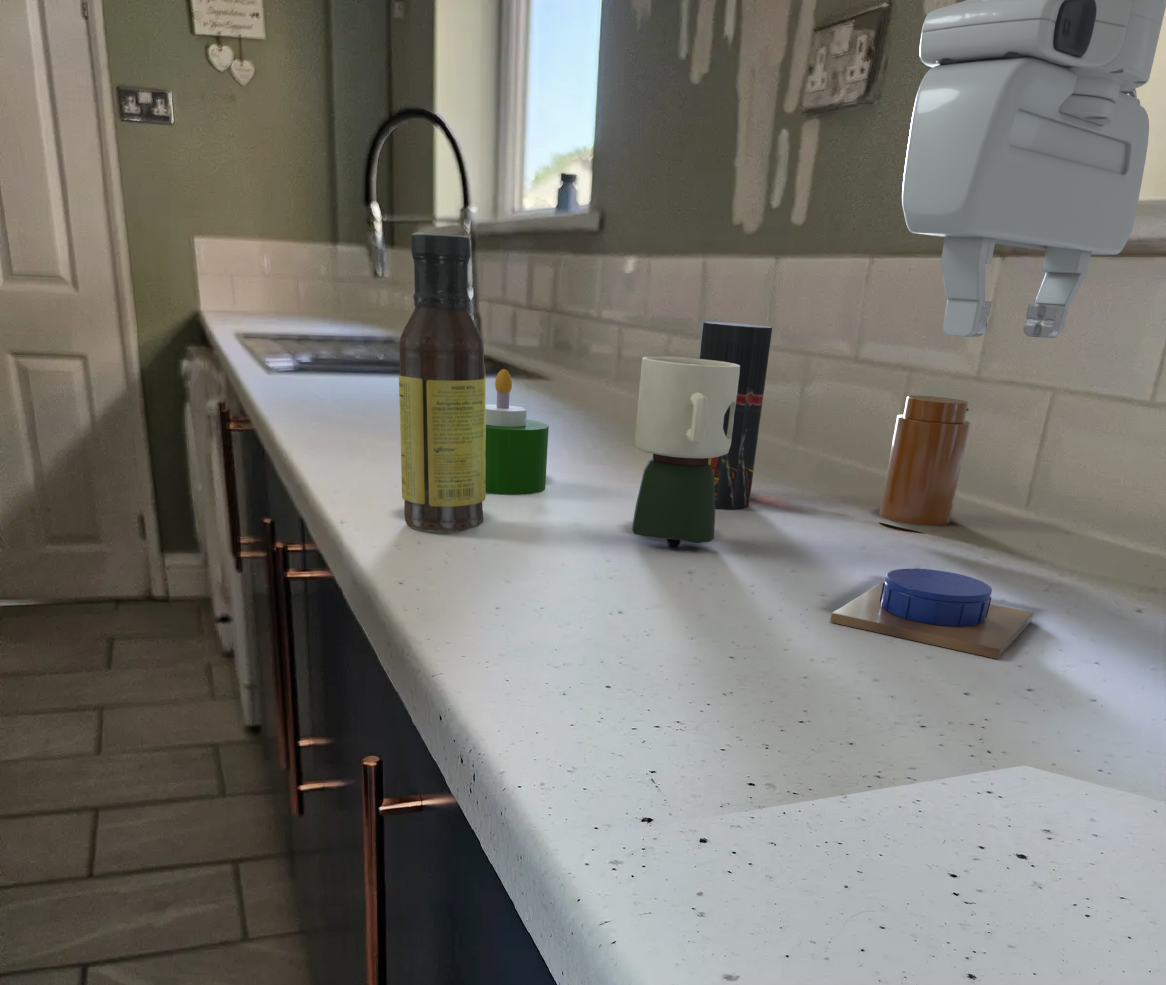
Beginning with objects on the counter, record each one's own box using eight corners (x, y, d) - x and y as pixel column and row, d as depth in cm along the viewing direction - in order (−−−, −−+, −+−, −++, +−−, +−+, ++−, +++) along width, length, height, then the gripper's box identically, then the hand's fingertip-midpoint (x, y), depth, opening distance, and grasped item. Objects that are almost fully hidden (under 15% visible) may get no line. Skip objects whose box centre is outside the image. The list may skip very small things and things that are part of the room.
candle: (553, 496, 97) (560, 376, 93) (460, 493, 95) (463, 371, 91) (535, 478, 104) (541, 366, 100) (448, 475, 102) (450, 362, 98)
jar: (960, 529, 96) (987, 403, 91) (925, 536, 92) (952, 404, 88) (900, 516, 100) (924, 393, 95) (864, 522, 96) (887, 395, 91)
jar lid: (870, 593, 71) (876, 565, 70) (968, 601, 71) (974, 572, 70) (893, 622, 65) (899, 591, 64) (998, 630, 65) (1006, 599, 64)
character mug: (733, 561, 79) (758, 371, 74) (636, 557, 78) (654, 364, 73) (702, 528, 89) (722, 357, 83) (616, 523, 88) (630, 351, 82)
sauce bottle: (497, 524, 85) (507, 239, 76) (462, 539, 79) (469, 234, 71) (422, 513, 87) (424, 233, 78) (384, 527, 81) (381, 228, 73)
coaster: (1031, 621, 70) (1034, 612, 70) (997, 659, 62) (999, 649, 62) (879, 590, 74) (881, 581, 74) (829, 622, 67) (831, 612, 66)
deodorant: (761, 508, 98) (785, 328, 92) (702, 509, 96) (723, 325, 90) (729, 495, 103) (750, 323, 97) (672, 495, 101) (690, 320, 95)
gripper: (1087, 80, 64) (1033, 334, 70) (903, 11, 51) (856, 330, 57) (1200, 72, 60) (1133, 341, 66) (1033, -5, 47) (968, 340, 53)
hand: (1004, 336), depth 61 cm, fingers open, 8 cm apart
